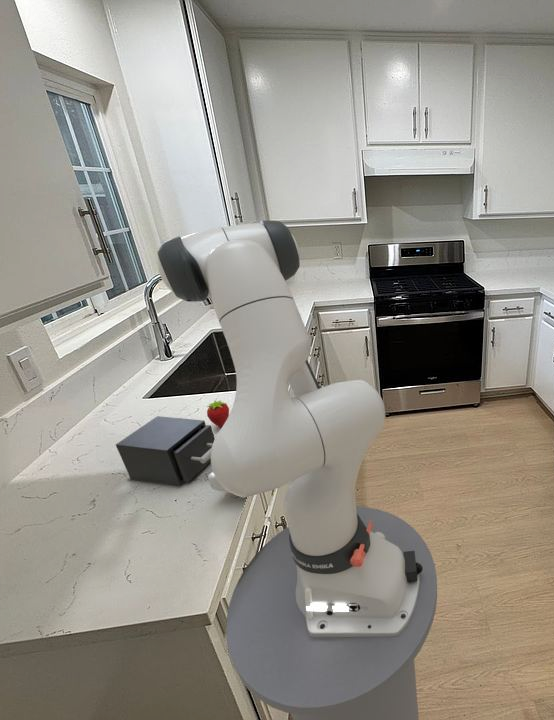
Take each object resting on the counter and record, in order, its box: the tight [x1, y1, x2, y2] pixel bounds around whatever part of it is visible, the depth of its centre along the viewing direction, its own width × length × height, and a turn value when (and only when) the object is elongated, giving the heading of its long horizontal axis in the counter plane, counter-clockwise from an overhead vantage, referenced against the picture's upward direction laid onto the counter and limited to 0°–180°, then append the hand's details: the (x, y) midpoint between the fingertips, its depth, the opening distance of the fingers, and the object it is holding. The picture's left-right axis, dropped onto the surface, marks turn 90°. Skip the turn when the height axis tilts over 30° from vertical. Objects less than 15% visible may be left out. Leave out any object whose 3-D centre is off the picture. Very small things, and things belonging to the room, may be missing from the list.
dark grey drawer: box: [170, 424, 215, 483], centre depth 98 cm, size 18×11×9 cm, turn 78°
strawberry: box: [206, 399, 230, 429], centre depth 115 cm, size 6×8×10 cm
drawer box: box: [115, 415, 207, 487], centre depth 99 cm, size 15×13×11 cm
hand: (218, 453), depth 95 cm, fingers closed
